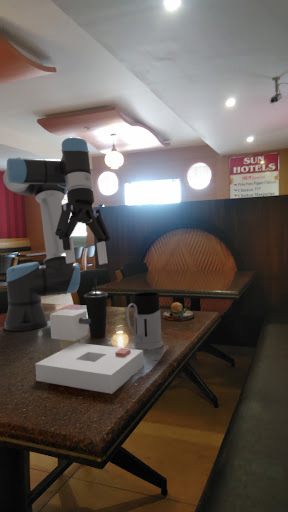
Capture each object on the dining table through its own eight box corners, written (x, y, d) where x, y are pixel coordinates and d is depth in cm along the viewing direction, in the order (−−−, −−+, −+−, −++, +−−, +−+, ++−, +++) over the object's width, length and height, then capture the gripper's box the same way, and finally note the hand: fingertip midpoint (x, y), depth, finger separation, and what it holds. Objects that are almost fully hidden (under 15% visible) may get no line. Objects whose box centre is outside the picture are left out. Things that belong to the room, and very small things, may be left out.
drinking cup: (105, 339, 111) (102, 276, 109) (82, 339, 112) (79, 276, 111) (112, 332, 118) (109, 273, 117) (91, 332, 120) (87, 273, 119)
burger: (199, 316, 137) (198, 297, 136) (181, 323, 128) (181, 302, 128) (174, 312, 145) (174, 294, 144) (156, 318, 136) (155, 299, 136)
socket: (36, 380, 82) (35, 360, 81) (76, 357, 96) (75, 339, 96) (112, 393, 73) (110, 371, 73) (143, 365, 88) (142, 347, 87)
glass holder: (168, 342, 106) (166, 292, 105) (142, 357, 94) (140, 301, 93) (144, 338, 110) (142, 291, 109) (116, 352, 99) (113, 299, 98)
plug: (52, 352, 100) (49, 314, 100) (66, 345, 106) (63, 309, 106) (83, 357, 96) (81, 316, 95) (96, 349, 102) (94, 311, 101)
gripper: (56, 177, 90) (65, 259, 87) (116, 195, 111) (124, 262, 108) (36, 185, 94) (44, 264, 91) (97, 201, 115) (105, 266, 112)
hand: (88, 263), depth 99 cm, fingers open, 13 cm apart
